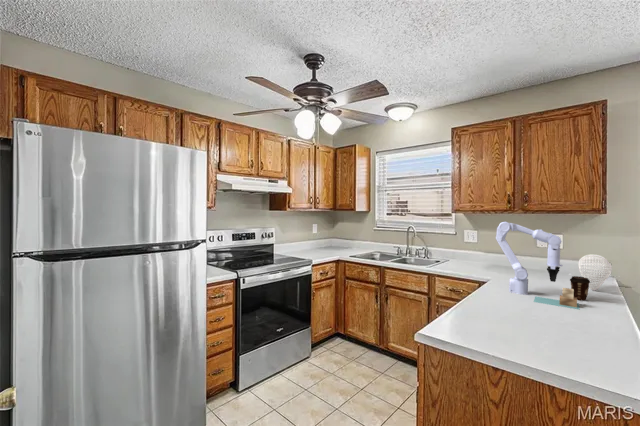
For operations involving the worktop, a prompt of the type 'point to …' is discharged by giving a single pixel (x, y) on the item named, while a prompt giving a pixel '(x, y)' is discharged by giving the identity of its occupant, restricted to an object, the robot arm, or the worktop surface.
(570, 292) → the maple block
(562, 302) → the walnut block
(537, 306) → the worktop surface
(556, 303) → the build board
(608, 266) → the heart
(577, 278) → the coffee cup
